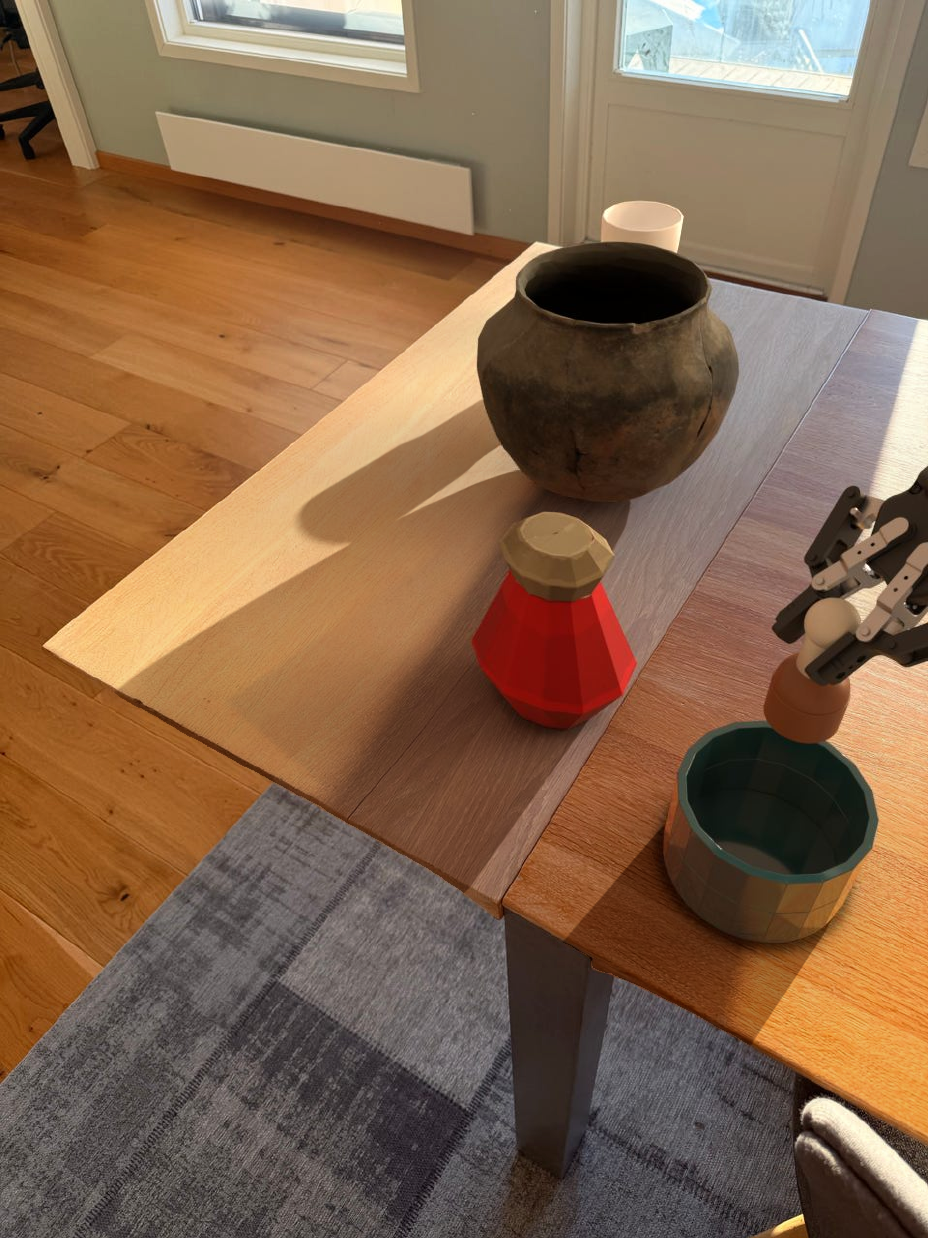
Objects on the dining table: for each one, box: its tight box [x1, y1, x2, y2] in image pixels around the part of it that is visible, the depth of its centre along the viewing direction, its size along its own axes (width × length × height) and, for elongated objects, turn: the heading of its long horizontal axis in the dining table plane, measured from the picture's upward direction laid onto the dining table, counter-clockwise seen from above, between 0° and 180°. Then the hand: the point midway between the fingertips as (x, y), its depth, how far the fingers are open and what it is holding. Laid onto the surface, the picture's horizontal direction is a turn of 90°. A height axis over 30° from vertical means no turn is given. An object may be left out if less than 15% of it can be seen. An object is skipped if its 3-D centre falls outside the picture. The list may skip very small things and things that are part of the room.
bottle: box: [470, 511, 638, 731], centre depth 80 cm, size 16×14×20 cm
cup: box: [600, 200, 684, 253], centre depth 133 cm, size 11×11×17 cm
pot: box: [476, 241, 740, 503], centre depth 104 cm, size 29×32×25 cm
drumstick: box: [762, 598, 863, 743], centre depth 60 cm, size 5×5×11 cm
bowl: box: [662, 720, 880, 944], centre depth 71 cm, size 14×15×9 cm
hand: (797, 656), depth 59 cm, fingers closed on drumstick, 3 cm apart
